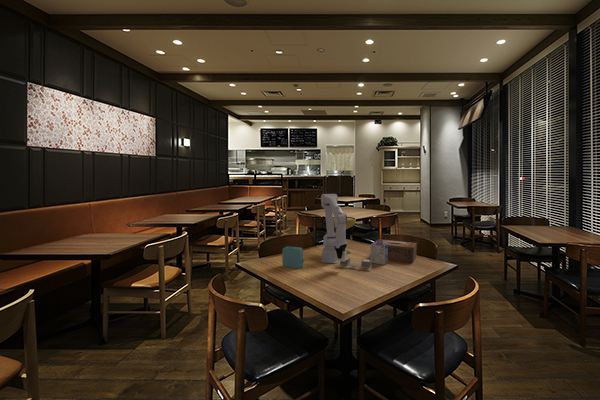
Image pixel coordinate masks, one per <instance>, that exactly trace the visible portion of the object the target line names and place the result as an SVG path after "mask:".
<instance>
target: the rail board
mask: <svg viewBox="0 0 600 400" xmlns="http://www.w3.org/2000/svg"><path fill="white" fill-rule="evenodd" d="M371 265H372V267H371V268H362V267H353V266H344V265H338V268H339V269H348V270H357V271H366V272H370V271H372V268H373V264H371Z"/></svg>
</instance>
